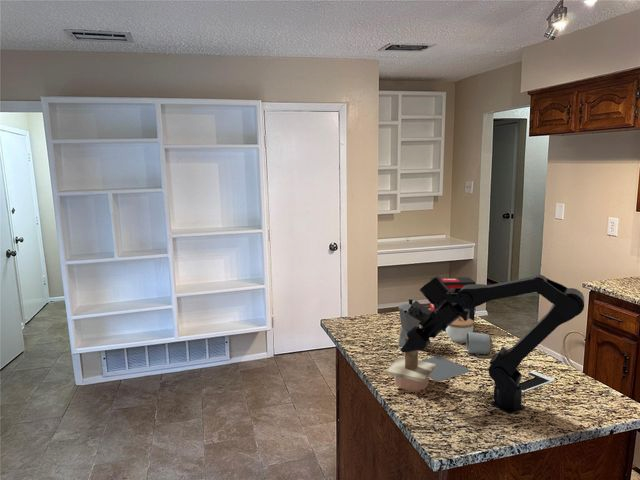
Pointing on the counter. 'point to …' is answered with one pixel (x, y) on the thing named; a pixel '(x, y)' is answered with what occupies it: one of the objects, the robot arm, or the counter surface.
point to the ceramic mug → (478, 343)
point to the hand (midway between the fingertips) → (407, 346)
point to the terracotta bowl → (410, 384)
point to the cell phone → (535, 381)
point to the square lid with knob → (411, 367)
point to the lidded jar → (460, 329)
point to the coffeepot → (406, 322)
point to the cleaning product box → (455, 284)
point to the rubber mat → (445, 368)
